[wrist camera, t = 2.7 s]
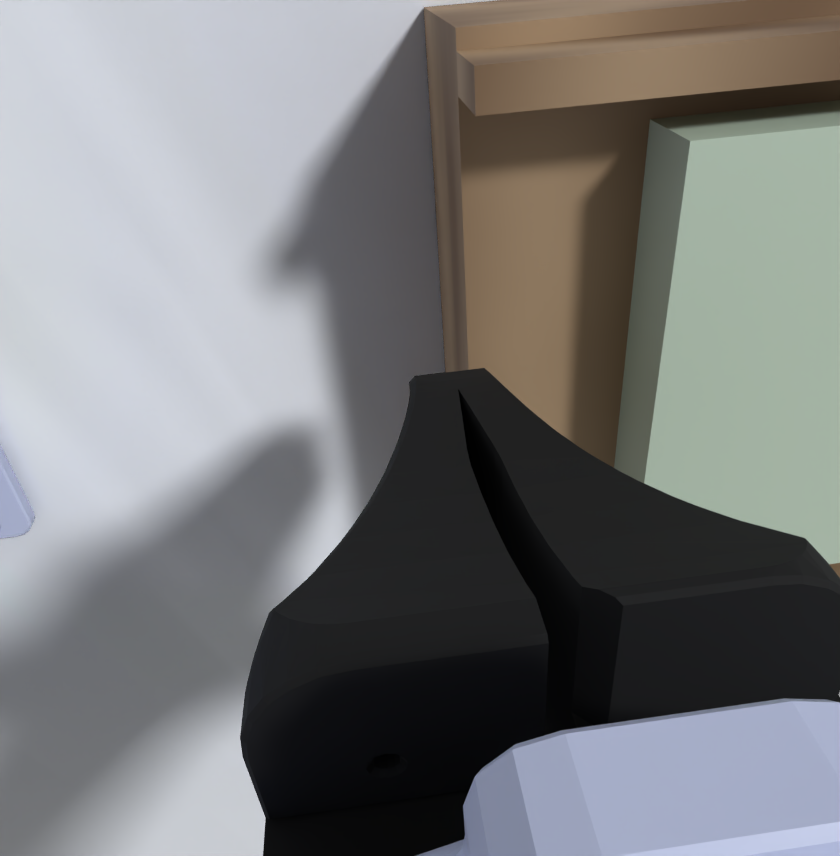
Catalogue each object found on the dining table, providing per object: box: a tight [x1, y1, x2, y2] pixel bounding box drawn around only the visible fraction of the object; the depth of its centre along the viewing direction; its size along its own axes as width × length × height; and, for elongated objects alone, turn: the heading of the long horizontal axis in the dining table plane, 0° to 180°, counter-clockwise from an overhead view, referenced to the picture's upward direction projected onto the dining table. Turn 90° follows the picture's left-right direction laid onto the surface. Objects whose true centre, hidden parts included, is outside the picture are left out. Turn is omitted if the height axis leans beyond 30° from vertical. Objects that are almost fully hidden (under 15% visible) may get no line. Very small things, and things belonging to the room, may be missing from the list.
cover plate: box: [614, 100, 840, 564], centre depth 13 cm, size 7×9×2 cm
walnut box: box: [424, 0, 840, 578], centre depth 15 cm, size 10×12×6 cm
